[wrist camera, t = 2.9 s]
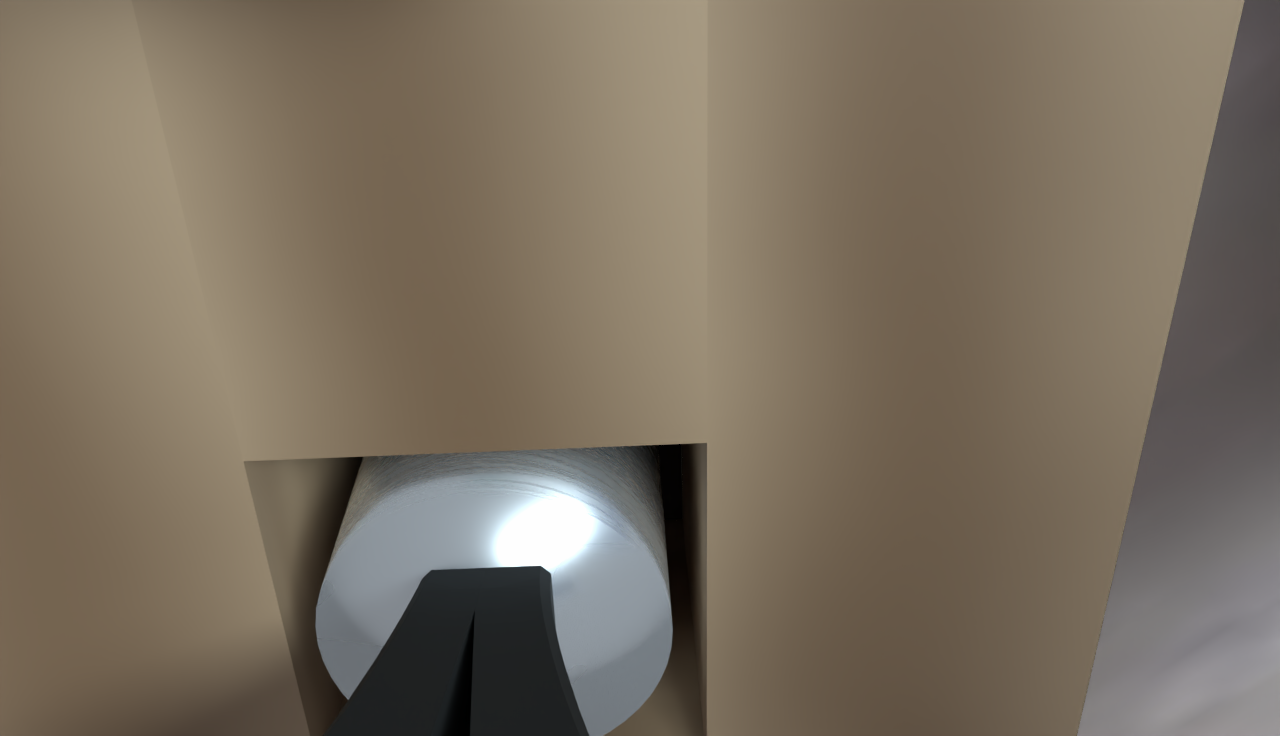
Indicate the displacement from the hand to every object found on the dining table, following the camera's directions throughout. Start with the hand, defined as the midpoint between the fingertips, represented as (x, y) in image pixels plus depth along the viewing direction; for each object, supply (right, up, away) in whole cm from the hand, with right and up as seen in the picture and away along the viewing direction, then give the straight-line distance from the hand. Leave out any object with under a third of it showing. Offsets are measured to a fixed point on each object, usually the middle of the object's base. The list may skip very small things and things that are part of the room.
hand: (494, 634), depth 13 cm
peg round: (0, +3, +4) cm, 5 cm away
